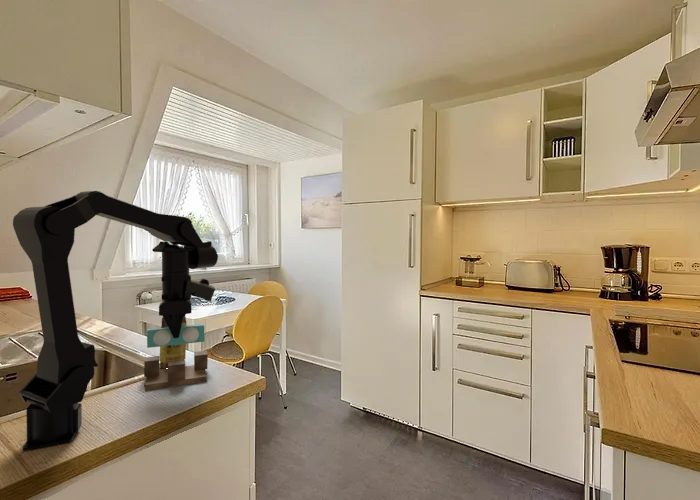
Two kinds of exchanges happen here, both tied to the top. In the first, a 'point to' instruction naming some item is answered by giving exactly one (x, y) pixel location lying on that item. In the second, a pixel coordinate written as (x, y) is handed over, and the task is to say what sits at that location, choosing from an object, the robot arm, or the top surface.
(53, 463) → the top surface
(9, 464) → the top surface
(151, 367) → the stand
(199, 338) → the glasses
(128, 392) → the top surface
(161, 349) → the sauce bottle
